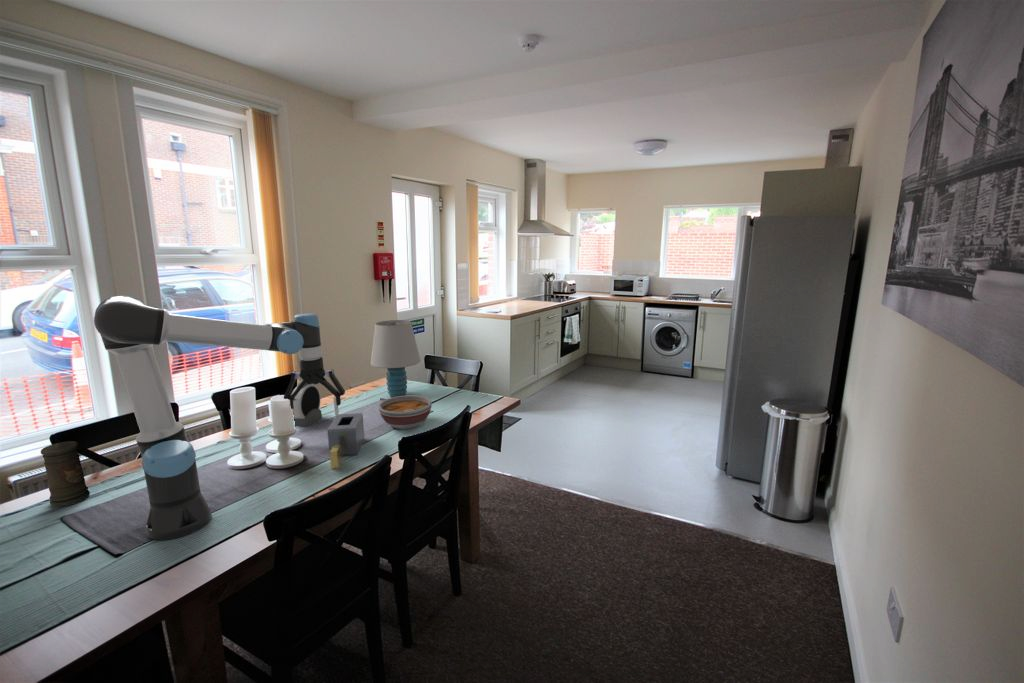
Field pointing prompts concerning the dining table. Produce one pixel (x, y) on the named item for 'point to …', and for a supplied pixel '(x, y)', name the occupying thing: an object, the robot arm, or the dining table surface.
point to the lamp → (394, 353)
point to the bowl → (405, 411)
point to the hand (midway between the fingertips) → (317, 415)
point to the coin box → (347, 433)
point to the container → (64, 474)
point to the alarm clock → (308, 406)
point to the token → (335, 456)
